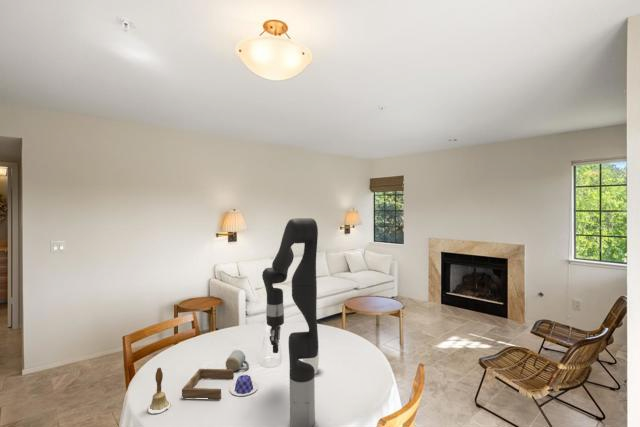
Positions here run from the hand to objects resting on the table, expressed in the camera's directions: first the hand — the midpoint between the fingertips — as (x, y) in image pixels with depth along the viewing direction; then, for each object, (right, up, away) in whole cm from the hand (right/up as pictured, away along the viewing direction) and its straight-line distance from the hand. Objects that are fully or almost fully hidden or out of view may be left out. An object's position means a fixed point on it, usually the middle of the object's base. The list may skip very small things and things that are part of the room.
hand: (275, 352), depth 143 cm
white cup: (+15, -16, +15) cm, 27 cm away
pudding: (-14, -17, +1) cm, 22 cm away
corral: (-29, -17, +2) cm, 33 cm away
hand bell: (-45, -17, -12) cm, 49 cm away
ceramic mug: (-21, -16, +19) cm, 33 cm away
